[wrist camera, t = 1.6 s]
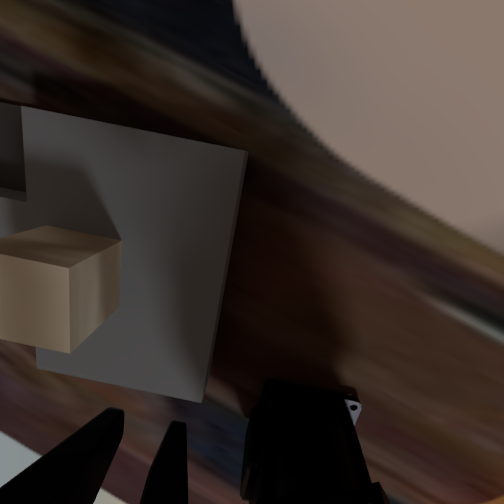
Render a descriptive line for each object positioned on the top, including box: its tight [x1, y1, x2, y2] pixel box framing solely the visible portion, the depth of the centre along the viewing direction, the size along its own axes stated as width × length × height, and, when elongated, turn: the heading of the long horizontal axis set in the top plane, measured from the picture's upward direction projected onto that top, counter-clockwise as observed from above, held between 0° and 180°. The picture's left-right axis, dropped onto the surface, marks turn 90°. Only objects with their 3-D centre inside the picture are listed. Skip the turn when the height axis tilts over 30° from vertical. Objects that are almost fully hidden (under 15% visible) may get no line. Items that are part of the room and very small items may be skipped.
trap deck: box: [0, 102, 249, 403], centre depth 16 cm, size 20×15×2 cm
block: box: [0, 225, 122, 354], centre depth 13 cm, size 4×4×4 cm
